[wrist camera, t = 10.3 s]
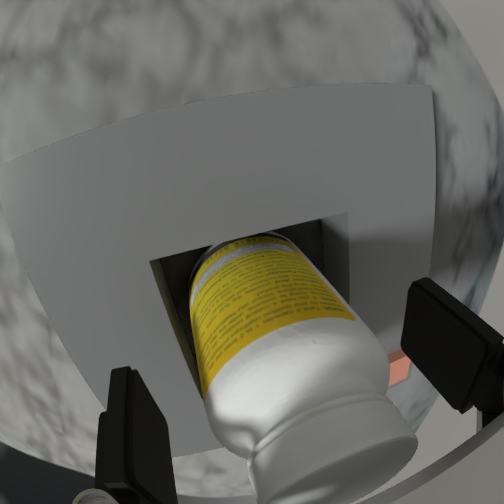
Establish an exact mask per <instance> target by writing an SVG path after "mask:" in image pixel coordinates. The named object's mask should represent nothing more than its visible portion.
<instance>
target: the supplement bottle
mask: <svg viewBox="0 0 504 504" xmlns="http://www.w3.org/2000/svg"><path fill="white" fill-rule="evenodd" d="M188 301H189V311H190V317H191V325H192V332H193V339H194V344H195V351H196V357H197V364H198V370H199V376H200V382H201V389H202V395H203V401H204V405H205V409H206V413H207V417H208V421H209V424H210V427H211V430H212V431H213V433H214V435H215V437H216V438H217V440H218V441H219V442H220V443H221V444H222V445H223V446H224V447H225V448H227V449H228V450H229V451H231V452H232V453H234V454H236V455H238V456H240V457H242V458H245V459H248V461H247V466H248V476H249V480H250V482H251V485H252V487H253V490H254V494H255V496H256V500H257V503H258V504H349V503H352V502H354V501H356V500H358V499H360V498H362V497H364V496H366V495H368V494H369V493H371V492H373V491H374V490H376V489H377V488H379V487H380V486H382V485H383V484H385V483H386V482H387V481H389V480H390V479H391V478H392V477H394V476H395V475H396V474H397V473H398V472H399V471H400V470H402V469H403V468H404V467H405V466H406V464H407V463H408V462H409V461H410V460H411V458H412V457H413V455H414V454H415V452H416V450H417V446H418V439H417V437H416V435H415V433H414V432H413V430H412V429H411V427H410V426H409V425H408V423H407V422H406V420H405V419H404V417H403V416H402V414H401V413H400V411H399V410H398V409H397V407H395V406H394V404H393V402H392V401H391V400H390V399H389V398H388V397H386V396H385V394H386V392H387V389H388V385H389V380H390V363H389V359H388V356H387V353H386V351H385V349H384V347H383V345H382V344H381V342H380V341H379V340H378V338H377V337H376V336H375V335H374V333H373V332H372V331H371V330H370V329H369V327H368V326H367V325H366V324H365V323H364V322H363V321H362V319H361V318H360V317H359V316H358V315H357V314H356V313H355V312H354V310H353V309H352V308H351V307H350V306H349V305H348V304H347V302H346V301H345V300H344V299H343V298H342V297H341V295H340V294H339V293H338V292H337V291H336V290H335V288H334V287H333V286H332V285H331V284H330V283H329V282H328V280H327V279H326V278H325V277H324V276H323V275H322V274H321V272H320V271H319V270H318V269H317V268H316V267H315V266H314V265H313V263H312V262H311V261H310V260H309V259H308V258H307V257H306V256H305V254H304V253H303V252H302V251H301V250H300V249H299V248H298V247H297V246H296V245H295V244H294V243H293V242H292V241H290V240H289V239H288V238H286V237H284V236H282V235H280V234H278V233H275V232H272V231H266V232H262V233H258V234H254V235H250V236H246V237H242V238H238V239H233V240H229V241H225V242H221V243H217V244H213V245H211V246H210V247H209V248H207V249H206V251H205V252H204V253H203V254H202V255H201V257H200V258H199V259H198V261H197V262H196V264H195V266H194V268H193V270H192V273H191V276H190V279H189V285H188Z"/></svg>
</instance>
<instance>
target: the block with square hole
mask: <svg viewBox="0 0 504 504" xmlns="http://www.w3.org/2000/svg"><path fill="white" fill-rule="evenodd" d="M435 196H436V146H435V124H434V110H433V98H432V88H431V85H420V84H389V83H365V84H334V85H317V86H304V87H293V88H283V89H274V90H266V91H258V92H251V93H244V94H237V95H231V96H225V97H219V98H214V99H208V100H203V101H198V102H193V103H188V104H184V105H179V106H175V107H170V108H166V109H162V110H158V111H154V112H150V113H146V114H142V115H139V116H135V117H131V118H128V119H124V120H121V121H118V122H114V123H111V124H108V125H104V126H101V127H98V128H95V129H92V130H89V131H86V132H83V133H80V134H77V135H75V136H72V137H69V138H66V139H64V140H61V141H58V142H56V143H53V144H50V145H48V146H45V147H43V148H40V149H38V150H35V151H33V152H31V153H28V154H26V155H24V156H21V157H19V158H17V159H15V160H12V161H10V162H8V163H6V164H4V165H2V166H0V203H1V206H2V209H3V212H4V215H5V218H6V221H7V224H8V227H9V229H10V232H11V235H12V238H13V240H14V243H15V245H16V248H17V251H18V253H19V256H20V258H21V260H22V263H23V265H24V268H25V270H26V272H27V274H28V277H29V279H30V281H31V283H32V286H33V288H34V290H35V292H36V294H37V296H38V298H39V300H40V302H41V304H42V306H43V308H44V310H45V312H46V314H47V316H48V318H49V320H50V322H51V324H52V326H53V327H54V329H55V331H56V333H57V335H58V336H59V338H60V340H61V342H62V343H63V345H64V347H65V349H66V350H67V352H68V354H69V355H70V357H71V359H72V360H73V362H74V364H75V365H76V367H77V368H78V370H79V372H80V373H81V375H82V376H83V378H84V379H85V381H86V382H87V384H88V385H89V387H90V388H91V390H92V391H93V393H94V394H95V396H96V397H97V398H98V400H99V401H100V403H101V404H102V405H103V407H104V408H105V410H106V411H107V402H108V392H109V383H110V375H111V370H112V369H115V368H120V367H125V366H130V367H131V369H132V370H134V369H137V370H138V372H139V374H140V376H141V377H142V379H143V381H144V383H145V385H146V386H147V388H148V390H149V392H150V393H151V395H152V397H153V399H154V400H155V402H156V404H157V405H158V407H159V409H160V410H161V412H162V414H163V415H164V417H165V419H166V421H167V424H168V429H169V439H170V448H171V457H178V456H184V455H189V454H194V453H199V452H204V451H209V450H213V449H218V448H222V447H224V446H223V445H222V444H221V443H220V442H219V441H218V440H217V438H216V437H215V435H214V433H213V431H212V430H211V427H210V424H209V421H208V417H207V413H206V409H205V405H204V401H203V395H202V389H201V382H200V376H199V370H198V364H197V363H195V360H194V357H193V355H192V352H191V350H190V347H189V344H188V341H187V339H186V336H185V333H184V331H183V328H182V325H181V322H180V319H179V317H178V314H177V311H176V308H175V305H174V302H173V299H172V296H171V293H170V290H169V287H168V284H167V281H166V278H165V275H164V272H163V268H162V265H161V262H160V259H159V258H162V257H166V256H170V255H174V254H178V253H182V252H186V251H190V250H194V249H198V248H202V247H205V246H209V245H213V244H217V243H221V242H225V241H229V240H233V239H238V238H242V237H246V236H250V235H254V234H258V233H262V232H266V231H270V230H274V229H278V228H282V227H287V226H291V225H295V224H299V223H303V222H307V221H312V220H316V219H321V231H322V244H323V259H324V276H325V278H326V279H327V280H328V282H329V283H330V284H331V285H332V286H333V287H334V288H335V290H336V291H337V292H338V293H339V294H340V295H341V297H342V298H343V299H344V300H345V301H346V302H347V304H348V305H349V306H350V307H351V308H352V309H353V310H354V312H355V313H356V314H357V315H358V316H359V317H360V318H361V319H362V321H363V322H364V323H365V324H366V325H367V326H368V327H369V329H370V330H371V331H372V332H373V333H374V335H375V336H376V337H377V338H378V340H379V341H380V342H381V344H382V345H383V347H384V349H385V351H386V353H387V356H388V359H389V363H390V380H389V385H388V389H390V388H392V387H394V386H396V385H398V384H400V383H402V382H404V381H406V380H408V379H409V378H410V374H411V370H412V366H413V362H412V361H411V360H410V359H409V358H408V357H407V356H406V354H405V353H404V352H403V351H402V349H401V345H400V342H401V336H402V330H403V323H404V317H405V310H406V302H407V294H408V289H409V287H410V286H411V283H412V282H413V281H416V280H418V279H421V278H423V277H428V278H429V273H430V265H431V256H432V245H433V233H434V218H435ZM388 389H387V390H388Z"/></svg>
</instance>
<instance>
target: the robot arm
mask: <svg viewBox="0 0 504 504" xmlns="http://www.w3.org/2000/svg"><path fill="white" fill-rule="evenodd" d="M503 339H504V337H503V336H502V335H500V334H499V333H498V332H497V331H495V329H493V328H492V327H491V326H490V325H488V324H487V323H486V322H485V321H484V320H482V319H481V318H480V317H479V316H477V315H476V314H475V313H474V312H472V311H471V310H470V309H469V308H467V307H466V306H465V305H464V304H462V303H461V302H460V301H458V300H457V299H456V298H455V297H453V296H452V295H451V294H449V293H448V292H447V291H445V290H444V289H443V288H442V287H440V286H439V285H438V284H436V283H435V282H434V281H432V280H431V279H430V278H428V277H423V278H421V279H418V280H416V281H413V282H412V283H411V286H410V287H409V289H408V294H407V302H406V310H405V317H404V323H403V330H402V336H401V342H400V345H401V349H402V351H403V352H404V353H405V354H406V356H407V357H408V358H409V359H410V360H411V361H412V362H413V363H414V364H415V366H416V367H417V368H418V369H419V370H420V371H421V372H422V373H423V375H424V376H425V377H426V378H427V379H428V380H429V381H430V382H431V384H432V385H433V386H434V387H435V388H436V389H437V390H438V392H439V393H440V394H441V395H442V396H443V397H444V398H445V400H446V401H447V402H448V403H449V404H450V405H451V407H452V408H454V409H456V410H459V412H460V413H461V414H463V413H465V412H466V411H468V410H469V409H470V408H472V407H473V405H474V406H475V407H476V408H477V430H476V432H477V433H476V434H475V435H474V436H472V437H471V438H470V439H468V440H467V441H466V442H464V443H463V444H461V445H460V446H459V447H457V448H456V449H454V450H453V451H451V452H450V453H448V454H447V455H445V456H444V457H442V458H441V459H439V460H437V461H436V462H434V463H433V464H431V465H430V466H428V467H426V468H425V469H423V470H421V471H420V472H418V473H416V474H414V475H413V476H411V477H409V478H408V479H406V480H404V481H402V482H400V483H398V484H396V485H395V486H393V487H391V488H389V489H387V490H385V491H383V492H381V493H379V494H377V495H375V496H373V497H371V498H368V499H367V500H364V501H362V502H360V503H357V504H504V344H503V343H502V342H503ZM72 504H178V501H177V494H176V487H175V480H174V473H173V465H172V457H171V448H170V439H169V429H168V424H167V421H166V419H165V417H164V415H163V414H162V412H161V410H160V409H159V407H158V405H157V404H156V402H155V400H154V399H153V397H152V395H151V393H150V392H149V390H148V388H147V386H146V385H145V383H144V381H143V379H142V377H141V376H140V374H139V372H138V370H137V369H134V370H132V369H131V367H130V366H125V367H120V368H115V369H112V370H111V375H110V383H109V392H108V402H107V411H105V412H102V413H101V414H100V417H99V424H98V436H97V450H96V468H95V489H89V490H85V491H83V492H81V493H80V494H79V495H78V496H77V497H76V498H75V500H74V501H73V503H72Z"/></svg>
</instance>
